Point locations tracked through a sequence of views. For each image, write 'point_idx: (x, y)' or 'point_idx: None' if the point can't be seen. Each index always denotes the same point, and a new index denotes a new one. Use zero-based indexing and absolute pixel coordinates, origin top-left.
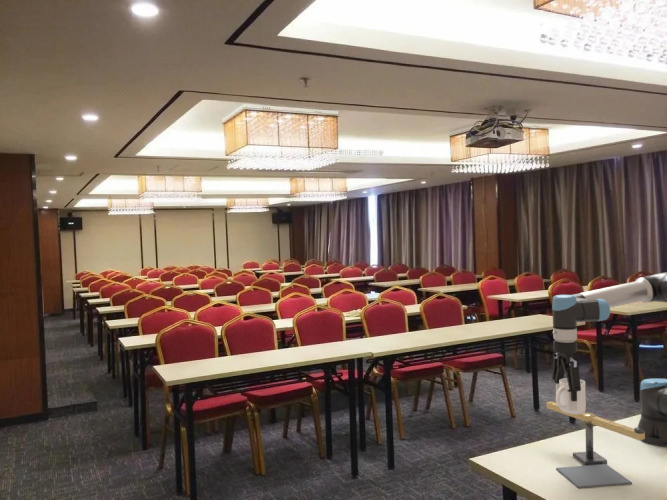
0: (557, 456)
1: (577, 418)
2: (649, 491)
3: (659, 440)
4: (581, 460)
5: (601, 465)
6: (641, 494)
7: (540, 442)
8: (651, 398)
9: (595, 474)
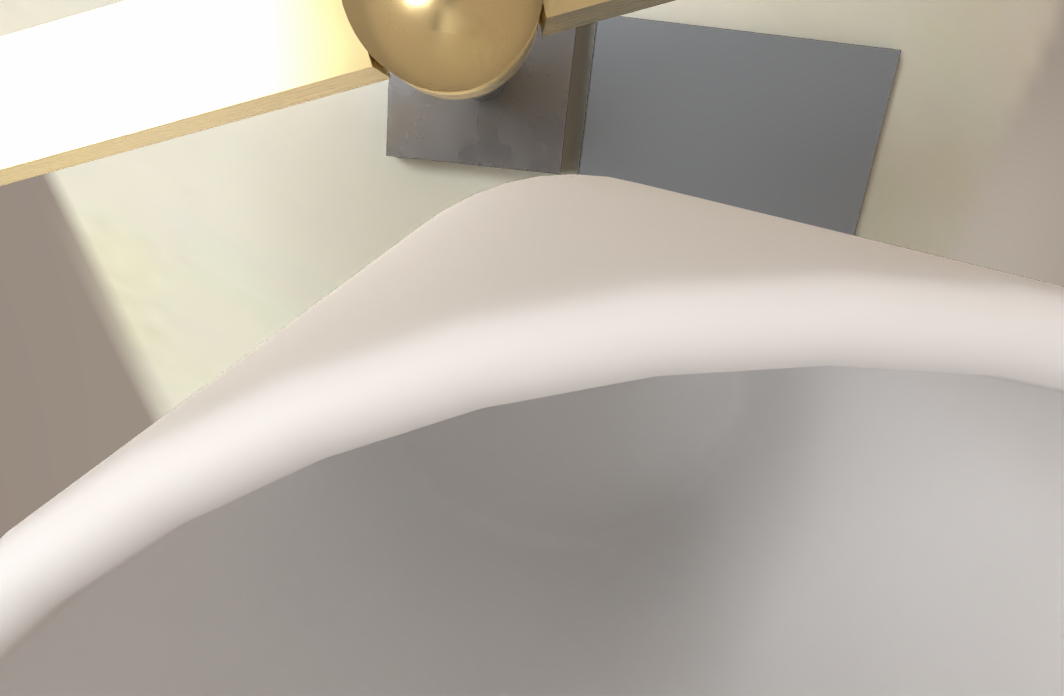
0: (364, 259)
1: (321, 96)
2: (1017, 14)
3: None
4: (510, 168)
5: (609, 68)
6: (1020, 101)
7: (88, 229)
8: None
9: None
